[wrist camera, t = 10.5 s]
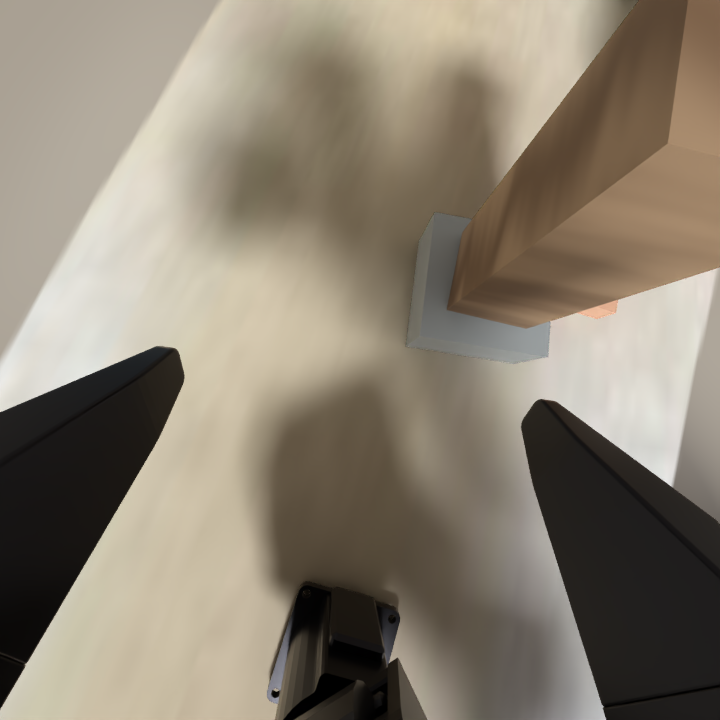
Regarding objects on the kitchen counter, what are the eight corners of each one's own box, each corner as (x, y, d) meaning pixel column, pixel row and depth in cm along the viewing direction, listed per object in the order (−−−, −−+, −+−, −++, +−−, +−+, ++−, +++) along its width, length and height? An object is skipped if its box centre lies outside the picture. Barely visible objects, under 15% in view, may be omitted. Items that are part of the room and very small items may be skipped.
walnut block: (526, 328, 19) (912, 205, 6) (446, 309, 19) (667, 143, 6) (540, 251, 19) (925, -16, 7) (462, 232, 19) (699, -80, 6)
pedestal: (511, 364, 23) (548, 356, 19) (404, 347, 22) (419, 335, 19) (519, 262, 24) (555, 234, 20) (417, 243, 24) (434, 211, 20)
